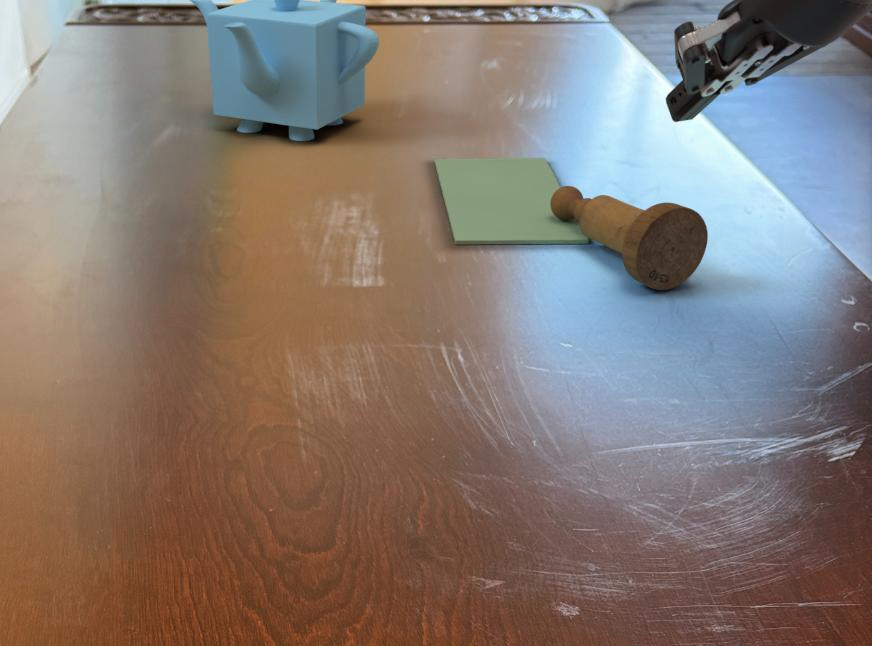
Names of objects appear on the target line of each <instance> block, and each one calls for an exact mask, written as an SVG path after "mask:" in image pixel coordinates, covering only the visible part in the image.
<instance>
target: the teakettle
mask: <svg viewBox="0 0 872 646" xmlns="http://www.w3.org/2000/svg"><path fill="white" fill-rule="evenodd" d="M189 1H190V2H191V3H192V4H193V5H195V6H196V7H197V9H199V11H200V13H201V14H202V16H203V18H204V20H205V24H206V28H207V40H208V41H207V43H208V57H209V71H210V84H211V86H210V87H211V97H212V111H213V112H212V113H213V115H216V116H222V117H228V118H234V119H241V121H240V122H239V125H238V127H237V128H236V132H239V133H245V134H252V133H258V132H261V131H262V128H263V126H264V123H270V124H277V125H281V126H288V138H289V139H290V140H291V141H295V142H306V141H311V140H314V139H315V134H314V130H317V131H318V130H319V129H321V128H323V127H325V126H338V125H339V126H340V125H341V124H343V123H344V121H343V119H342V117H344V116H346V115H348V114H349V113H351V112H354V111H355V110H358V109H359V108H361V107H364V106H365V103H366V101H365V100H366V66H367V65H368V64H369V63H370V62H371V61H372V60H373V58H374V57H375V55H376V54H377V52H378V48H379V45H380V38H379V35H378V34H377V33H376V32H375V31H374V30H372V29H371V28H369V27H366V26H367V25H366V21H367V8H366V6H365V5H361V4H360V5H359V4H349V3H340V2H339V3H338V2H337V0H319V1H318V0H317V1H316V0H246V1H242V2H239V3H236V4H233V5H230V6H226V7H224V8H220V9H219V8H218V7H217V5H216V4H215V2H214V1H212V0H189Z"/></svg>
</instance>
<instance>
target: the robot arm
mask: <svg viewBox="0 0 872 646" xmlns="http://www.w3.org/2000/svg"><path fill="white" fill-rule="evenodd" d="M871 11H872V0H731V1H730V2H729V3H726V5H725V6H723V7H722V8H721V10H720V11H719V13H718V14H717V18H716V20H715V21H713V22H711V23H709V24H707V25H705V26H702V27H700V26H698V25H697V26H694V22H692V21H686V22H684V23H681V24H680V25H678V26H677V27H676V28H675V29H674V31H673V35H674V54H675V65H676V67H677V69H678V70H679V73H680V76H681V78H682V79H681V81H680V82H679V83H678V84H677V85H676V86H675V87H674V88H673V89H672V90H670V92H669V93H667V95H666V97H665V103H666V107H667V109H668V112H669V115H670V118H671V120H672V122H674V123H679V122H684V121H685V122H686V121H691V120H694V119H695V118H696V117H697V116H698V115H700V114H701V112H702V111H704V110H705V109H706V108H707V107H708V106H709V105H711V103H712V102H713V101H714V100H716V99H717V98H718V97H719V96H720V95H725V94H729V93H731V92H732V91H734V90H735V89H736V88H737V87H738V86H739V85H741V84H742V83H743V82H744V84H745V86H747V87H749V86H753V85H756V84H757V83H759V82H761V81H763V80H765V79H766V78H768V77H770V76H773V74H775V73H777V72H779V71H781V70H783V69H785V68H787V67H789V66H791V65H792V64H794V63H797V62H798V61H800V60H802V59H804V58H805V57H808V56H809V55H811V54H813V53H815V52H817V51H819V50H821V49H823V48H825V47H827V46H828V45H831V44H832V43H834V42H836V41H837V40H838V39H840V38H841V37H842V36H844V34H846V33H847V32H848V31H850V29H852V28H853V27H854V26H855V25H856V24H857V23H859V22H860V21H861V20H862V19H863V18H864V17H866V16H867V15H868V14H869V13H870V12H871Z"/></svg>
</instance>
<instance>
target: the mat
mask: <svg viewBox="0 0 872 646" xmlns="http://www.w3.org/2000/svg"><path fill="white" fill-rule="evenodd" d="M433 163H434V167H435V171H436V175H437V178H438V183H439V187H440V190H441V194H442V198H443V202H444V206H445V210H446V213H447V216H448V221H449V225H450V229H451V233H452V236H453V241H454V244H455V245H456V246H457V245H458V246H459V245H575V244H576V245H587V244H589V241H590V238H588V237H586V236H585V235H584V234H583V233H582V231H581V228H580V223H578V222H577V221H576V219H575V218H573V219H571V220H561V219H559V218H557V217H556V216H555V215H554V214H553V212H552V210H551V206H550V201H551V198H552V195H553V194H554V192H555V191H556V190H558V189H559V188H561V187H562V186H560V183H559V182H558V180H557V177H556V176H555V174H554V172H553V170H552V169H551V167H550V165H549V162H548V161H547V159H546V157H492V158H491V157H487V158H484V157H483V158H481V157H479V158H474V157H473V158H471V157H470V158H468V157H467V158H465V157H463V158H434V160H433Z"/></svg>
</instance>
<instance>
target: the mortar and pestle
mask: <svg viewBox="0 0 872 646" xmlns="http://www.w3.org/2000/svg"><path fill="white" fill-rule="evenodd" d="M560 187H561V188H559V189H558V190H556V191H555V192H554V194H553V195H552V198H551V201H550V206H551V210H552V212H553V214H554V215H555V216H556V217H557V218H559V219H561V220H571V219H573V218H575V219H576V221H577V222H578V223H580V228H581V231H582V233H583V234H584V235H585V236H586V237H588V239H589V240H592V241H594V242H596V243H598V244H601V245H602V246H605V247H607V248H609V249H611V250H613V251H615V252H617V253H619V254H621V256H622V257H621V258H622V263H623V266H624V268H625V271H626V272H627V274H628V275H629V276H630V277H631V278H632V279H633V280H635V281H636V282H638V283H640V284H642V285H644V286H646V287H648V288H649V289H652V290H656V291H666V290H670V289H673V288H677V287H678V286H680V285H682V284H683V283H684V282H686V281H687V280H688V279H689V278H690V277H691V276H692V275H693V274H694V273H695V271H696V270H697V269H698V267H699V266H700V264H701V263H702V260H703V258H704V255H705V253H706V249H707V245H708V238H709V237H708V236H709V234H708V233H709V232H708V227H707V224H706V222H705V220H704V218H703V217H702V215H701V214H700V213H698V212H697V211H696V210H694V209H692V208H690V207H687V206H684V205H681V204H678V203H675V202H667V201H665V202H660V203H656V204H654V205H651V206H649V207H648V208H646V209H642V208H639V207H637V206H634V205H632V204H629V203H627V202H624V201H623V200H620V199H618V198H615V197H613V196H610V195H607V194H599V195H597V196H595V197H592V198H590V197H585V198H584V196H583V193H582V192H581V191H580V190H579V188H577V187H576V186H572V185H563V186H560Z"/></svg>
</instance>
